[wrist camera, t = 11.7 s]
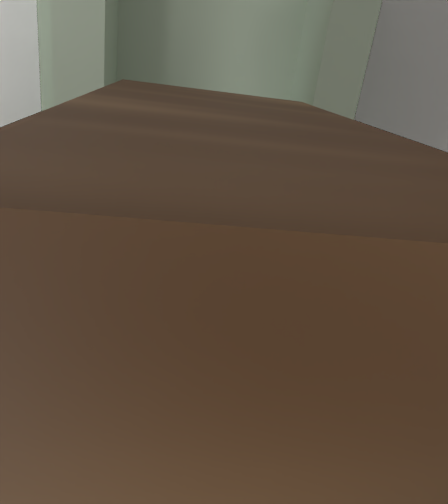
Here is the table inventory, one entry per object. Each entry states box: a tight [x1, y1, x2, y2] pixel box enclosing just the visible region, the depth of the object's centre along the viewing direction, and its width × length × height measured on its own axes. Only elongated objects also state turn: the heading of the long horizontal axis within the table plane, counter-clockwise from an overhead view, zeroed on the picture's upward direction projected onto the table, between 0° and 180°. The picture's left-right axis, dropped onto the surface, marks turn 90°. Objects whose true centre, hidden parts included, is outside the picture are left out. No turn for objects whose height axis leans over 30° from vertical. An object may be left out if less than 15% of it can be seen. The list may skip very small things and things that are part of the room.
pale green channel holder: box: [37, 0, 382, 120], centre depth 18 cm, size 22×12×4 cm, turn 173°
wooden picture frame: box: [0, 79, 448, 504], centre depth 9 cm, size 14×4×9 cm, turn 173°
